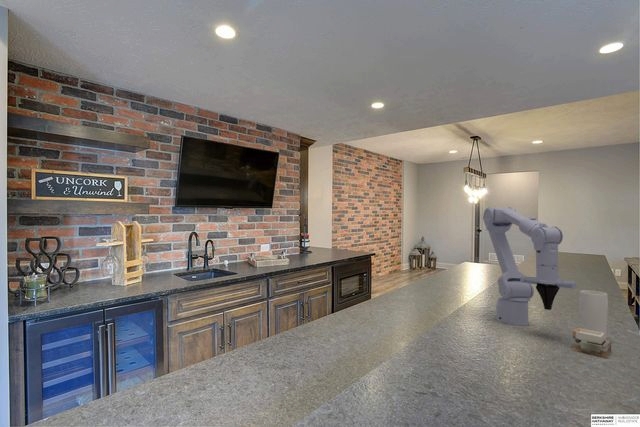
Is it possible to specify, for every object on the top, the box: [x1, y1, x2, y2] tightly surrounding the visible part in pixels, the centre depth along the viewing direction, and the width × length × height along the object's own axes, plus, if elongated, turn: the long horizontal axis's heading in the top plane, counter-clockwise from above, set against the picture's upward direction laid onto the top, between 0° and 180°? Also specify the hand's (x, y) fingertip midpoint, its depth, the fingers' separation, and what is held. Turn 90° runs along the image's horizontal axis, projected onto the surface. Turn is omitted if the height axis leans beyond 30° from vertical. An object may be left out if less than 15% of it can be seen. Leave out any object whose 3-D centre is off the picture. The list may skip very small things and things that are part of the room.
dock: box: [571, 339, 612, 359], centre depth 93 cm, size 19×12×4 cm, turn 40°
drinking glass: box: [578, 289, 609, 340], centre depth 98 cm, size 7×7×15 cm
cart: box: [572, 327, 605, 345], centre depth 89 cm, size 6×5×3 cm
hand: (548, 309), depth 100 cm, fingers closed
